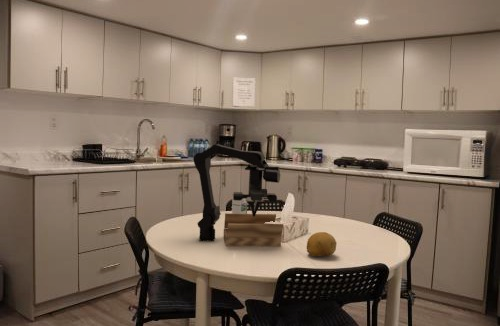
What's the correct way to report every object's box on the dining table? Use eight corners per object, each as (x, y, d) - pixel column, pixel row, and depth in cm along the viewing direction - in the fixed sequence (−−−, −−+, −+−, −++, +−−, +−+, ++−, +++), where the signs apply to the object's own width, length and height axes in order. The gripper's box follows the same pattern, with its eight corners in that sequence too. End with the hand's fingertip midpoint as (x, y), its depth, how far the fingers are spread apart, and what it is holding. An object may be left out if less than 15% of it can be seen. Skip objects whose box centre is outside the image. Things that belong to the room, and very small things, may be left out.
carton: (225, 246, 186) (226, 237, 185) (223, 237, 200) (223, 228, 200) (280, 246, 189) (281, 237, 188) (274, 237, 203) (274, 228, 203)
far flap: (224, 228, 200) (224, 227, 200) (274, 228, 203) (274, 228, 203) (225, 214, 196) (225, 213, 197) (276, 214, 199) (276, 213, 200)
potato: (303, 252, 181) (304, 229, 180) (332, 252, 182) (333, 229, 181) (309, 260, 170) (310, 235, 170) (340, 260, 172) (341, 235, 171)
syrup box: (240, 226, 223) (241, 198, 221) (231, 224, 226) (232, 196, 225) (246, 224, 227) (247, 197, 226) (238, 222, 231) (239, 195, 230)
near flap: (280, 236, 188) (280, 237, 188) (226, 236, 185) (226, 237, 185) (283, 223, 184) (283, 224, 183) (228, 223, 180) (228, 224, 180)
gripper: (235, 182, 177) (233, 220, 179) (280, 184, 179) (278, 221, 181) (233, 179, 188) (231, 214, 190) (275, 180, 190) (273, 215, 192)
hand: (253, 216), depth 188 cm, fingers closed
